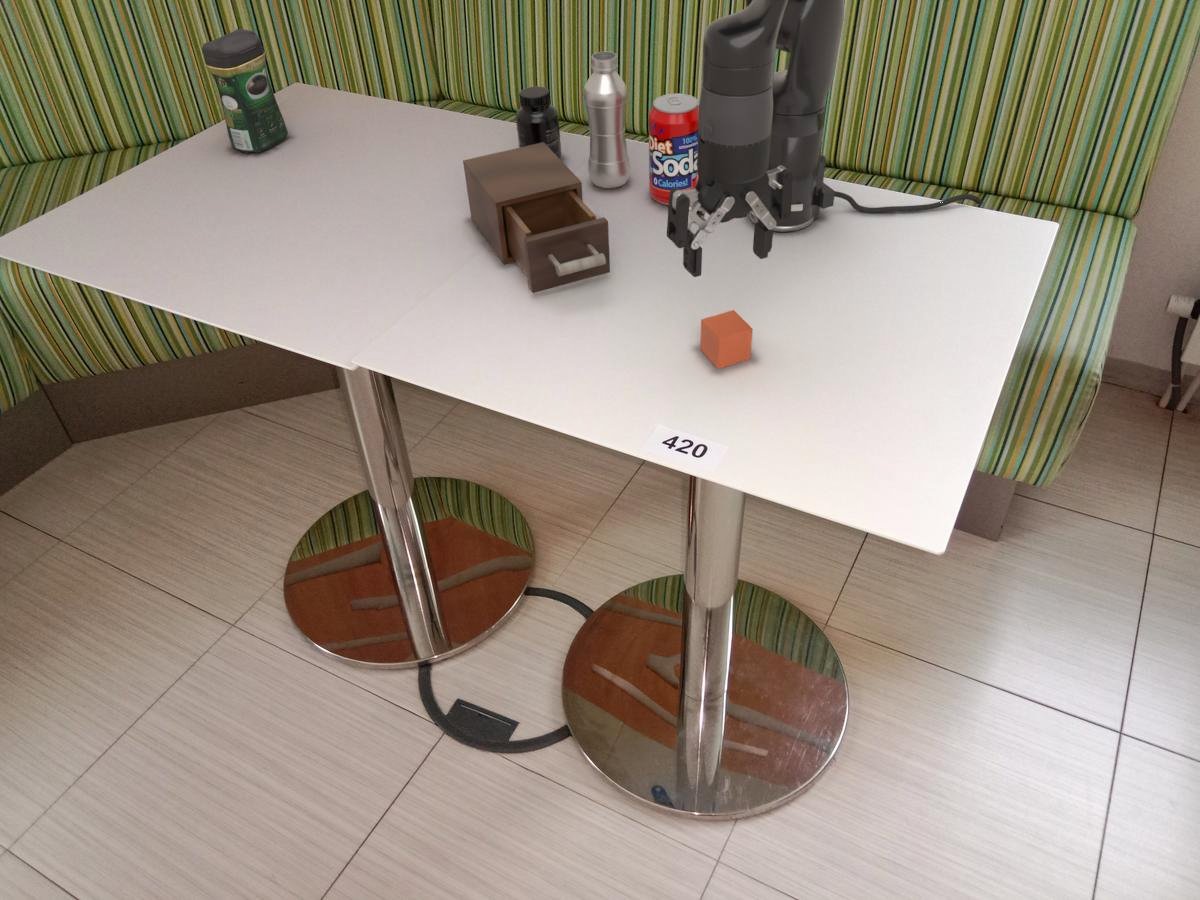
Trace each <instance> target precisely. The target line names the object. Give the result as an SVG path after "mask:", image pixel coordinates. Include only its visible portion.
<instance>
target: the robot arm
mask: <svg viewBox="0 0 1200 900" xmlns="http://www.w3.org/2000/svg"><path fill="white" fill-rule="evenodd" d="M745 6H746V7H745V8H744V9H742V10H740V11H737V12H734V13H731V14H728V15H725V16H722V17H720V18H716V19H715V20H713V21H712V22H710V23H709V24H708V25H707V27H706V28H705V31H704V34H703V42H702V43H703V44H702V71H701V72H702V75H701V90H700V96H699V100H698V106H699V117H698V150H697V170H698V181H697V184H696V186H695V188H694V189H689V190H684V191H681V190H679V189H678V188H676V187H675V188H673V189H671V191H670V193H669V205H668V209H667V223H666V237H667V239H669V240H670V241H671V242H672V243H673V244H674V245H675V247H677V248H678V249H683V250H682V251H683V253H682V265H683V268H684V269H685V270H686V271H687V272H688V273H689V274H690V276H692V277H693V278H697V277H698V278H699V277H701V276H702V269H703V268H702V266H703V248H702V245H703V243H704V242H705V239H706V238H707V237H708V236H709V234H713V233H714V232H715V230H716V228H717V227H718V226H719V224H720V223H721V224H724V223H728V222H730V221H732V220H734V219H744V218H747V217H748V214H749V219H750V221H751V222H752V223H753V224H754V227H753V228H754V229H753V239H752V240H753V241H752V251H753V254H755V256H756V257H757V258H759V259H760V260H763V259H767V258H768V257H769V253H771V250H772V248H773V237H774V232H785V233H786V232H787V233H788V232H795V231H800V230H802V229H805V228H807V227H809V226H810V225H811V224H812V223H813V221H814V220H817V219H819V218H820V213H821V209H822V210H823V209H827V208H830V207H834V203H835V198H839V199H843V200H845V201H847V202H848V203H849V204H850V206H851V207H852V208H853V209H855V210H856V211H859V212H862V213H867V214H879V213H880V214H881V213H892V212H893V213H894V212H896V213H897V212H899V213H900V212H917V211H918V212H919V211H927V210H934V209H938V208H941V207H944V206H947V205H949V204H952V203H955V202H958V201H962V200H969V201H971V202H974V203H976V204H978V205H983V204H984V202H983V200H982V199H981V198H980V197H978V196H976V195H974V194H972V193H962V194H958V195H954V196H952V197H949V198H946V199H943V200H941V201H937V202H933V203H927V204H926V203H925V204H917V205H896V206H895V205H894V206H879V207H869V206H864V205H860V204H859V203H857V202H856V200H855V199H854V198H853V197H852V196H851V195H849V194H846V193H844V192H841V191H837V190H834V189H833V188H832V187H830V186H829V185H827V183H825V182H824V178H825V170H826V163H827V158H826V156H825V155H824V154H823V153H822V145H823V134H824V125H825V117H826V106H827V102H828V101H827V100H828V95H829V91H830V88H831V86H832V83H833V81H834V78H835V73H836V68H837V61H838V55H839V49H840V43H841V38H842V33H843V32H842V31H843V26H844V20H845V0H745ZM776 50H778V51H781V52H785V53H788V54H789V61H788V66H787V69H782V70H779V71H775V61H776ZM695 202H698V203H696V206H695V207H694V208H693V206H694V203H695ZM940 202H941V203H940ZM942 202H943V203H942ZM690 212H691V213H690ZM706 213H707V214H708V218H707V219H706V218H705V214H706ZM689 215H690V216H689ZM689 218H690V220H689Z"/></svg>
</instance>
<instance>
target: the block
mask: <svg viewBox="0 0 1200 900" xmlns="http://www.w3.org/2000/svg"><path fill="white" fill-rule="evenodd" d="M752 341H753V327H752V326H750V324H749V323H748V322H746V320H745V319H743V318H742V316H740V314H738V312H737V311H735V309H732V310H729V311H725V312H721V313H718V314H715V315H711V316H708V317H705V318H701V320H700V347H699V348H700V349H699V350H700V351H701V353H703V355H705V357H706V358H707V359H708V360H709V361H710V362H711V364H713V366H714V368H716V369H717V370H721V369H723V368H727V367H729V366H734V365H736V364H739V363H742V362H745V361H749V360H751V353H752V343H753V342H752Z"/></svg>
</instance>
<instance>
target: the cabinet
mask: <svg viewBox="0 0 1200 900" xmlns="http://www.w3.org/2000/svg"><path fill="white" fill-rule="evenodd" d="M462 162H463V170H464V177H465V185H466V190H467V199H468V204H469V213H470V218H471V221H472V222H473V224H474V226H475V227H476V228H477V229H478V231H479V233H480V234H481V235H482V236H483V239H485V241H486V242H487V244H488V245H489V246H490V248H491V249H492V251H493V252H494V253H495V254H496V255H495V256H497V257H498V259H499V260H500V262H501V263H502V265H508V264H511V263H517V262H516V261H515V259H514V258H513V256H512V255H511V254H510V252H509V251H508V250H507V246H506V238H505V229H504V221H503V213H502V207H503V206H507V205H511V204H515V203H519V202H523V201H527V200H531V199H535V198H539V197H544V196H548V195H552V194H556V193H560V192H564V191H568V190H573V191H574V193H575V194H576V195H577V196H578V197H579V198H580V199H581V200H582V201H583V202H584V199H583V182H582V180H580V179H579V177H578V176H577V175H576V174H575V173H574V172H573V171H572V170H571V169H570V168H569V167H568V166H567V165H566V164H565V163H564V162H563V160H562V161H561V160H560V159H559V158H558V157H557V156H556V155H555V154H554V153H553V152H552V150H551V149H550V148H549V147H548V146H547V145H546V144H545V143H544V142H542V143H538V144H533V145H529V146H524V147H520V148H519V147H517V148H512V149H508V150H502V151H498V152H493V153H489V154H485V155H481V156H477V157H473V158H467V159H464V160H463V159H462Z"/></svg>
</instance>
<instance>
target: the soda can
mask: <svg viewBox="0 0 1200 900" xmlns="http://www.w3.org/2000/svg"><path fill="white" fill-rule="evenodd" d="M652 105H653V106H652V107H651V109H650V110H649V111H648V183H649V184H648V185H649V195H650V198H652V199H653V200H654V201H656V202H658V203H659V204H662V205H665V206H669V193H670V191H671V189H673V188H675V187H676V188H678V189H679V190H681V191H684V190H689V189H694V188H695V186H696V184H697V181H698V170H697V150H698V117H699V100H698V98H696V97H695V96H694V95H690V94H686V93H667V94H663V95H660V96H657V97H656V98H655V99H654V100H653V103H652Z"/></svg>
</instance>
